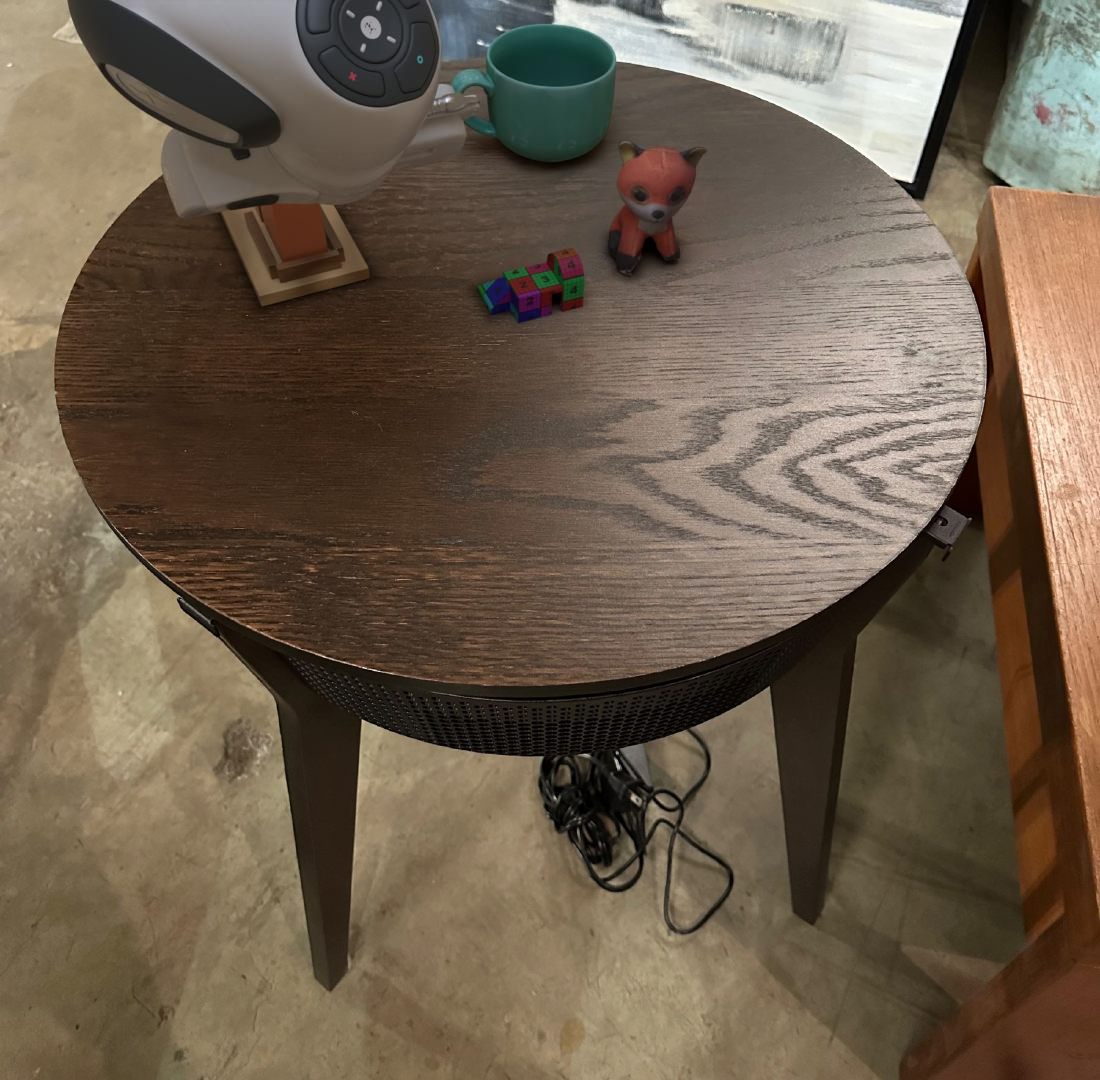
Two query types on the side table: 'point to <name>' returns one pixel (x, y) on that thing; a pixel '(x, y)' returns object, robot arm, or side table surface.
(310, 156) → the robot arm
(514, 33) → the mug
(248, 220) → the pad base
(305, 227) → the back pad
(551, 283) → the numbered block arch
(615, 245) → the stuffed fox
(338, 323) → the side table surface
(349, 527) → the side table surface
